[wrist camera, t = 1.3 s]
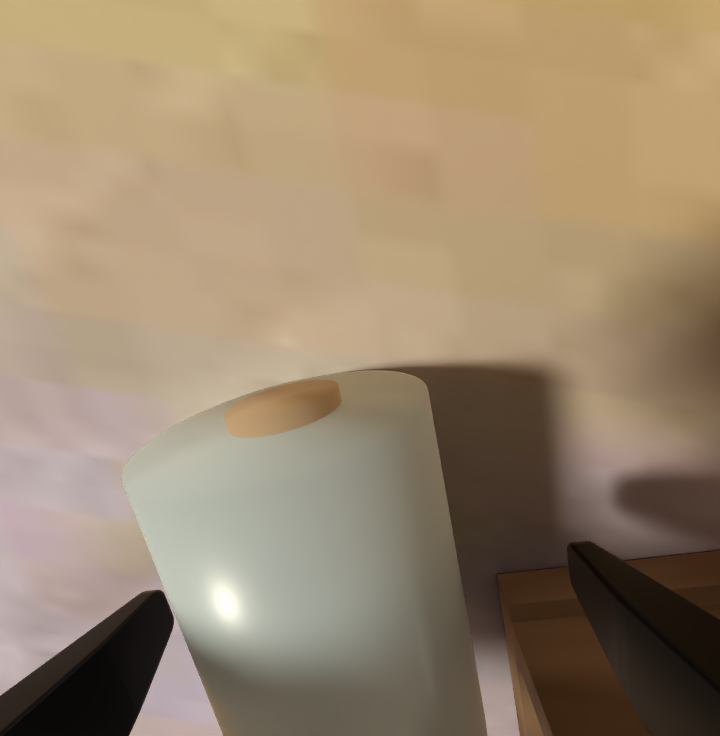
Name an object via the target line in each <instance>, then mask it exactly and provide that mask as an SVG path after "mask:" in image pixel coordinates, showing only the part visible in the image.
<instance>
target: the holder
mask: <svg viewBox="0 0 720 736" xmlns="http://www.w3.org/2000/svg"><path fill="white" fill-rule="evenodd" d="M625 562H626V563H628V564H630V565H631V566H633V567H635V568H636V569H638V570H640V571H641V572H643V573H645V574H646V575H648V576H650V577H651V578H653V579H655V580H656V581H658V582H660V583H661V584H663V585H665V586H666V587H668V588H670V589H671V590H673V591H674V592H676V593H678V594H679V595H681V596H683V597H684V598H686V599H688V600H689V601H691V602H693V603H694V604H696V605H698V606H699V607H701V608H703V609H704V610H706V611H708V612H709V613H711V614H713V615H714V616H716V617H718V618H719V619H720V551H712V552H702V553H693V554H684V555H674V556H665V557H655V558H646V559H637V560H627V561H625ZM497 580H498V587H499V594H500V600H501V607H502V614H503V621H504V628H505V635H506V642H507V648H508V655H509V662H510V669H511V676H512V683H513V690H514V697H515V703H516V710H517V717H518V724H519V731H520V736H650V734H649V733H648V731H647V729H646V727H645V726H644V724H643V722H642V721H641V719H640V717H639V716H638V714H637V712H636V711H635V709H634V707H633V706H632V704H631V702H630V701H629V699H628V697H627V695H626V694H625V692H624V690H623V688H622V686H621V685H620V683H619V681H618V679H617V677H616V675H615V673H614V671H613V669H612V667H611V665H610V663H609V661H608V659H607V657H606V655H605V653H604V651H603V649H602V647H601V645H600V643H599V641H598V639H597V637H596V635H595V632H594V630H593V628H592V626H591V624H590V622H589V620H588V618H587V616H586V614H585V612H584V610H583V608H582V606H581V604H580V602H579V600H578V598H577V596H576V594H575V592H574V589H573V587H572V584H571V581H570V576H569V567H562V568H552V569H543V570H534V571H524V572H515V573H506V574H497Z"/></svg>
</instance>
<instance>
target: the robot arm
mask: <svg viewBox="0 0 720 736" xmlns="http://www.w3.org/2000/svg"><path fill="white" fill-rule="evenodd" d="M567 554H568V566H569V576H570V581H571V584H572V587H573V589H574V592H575V594H576V596H577V598H578V600H579V602H580V604H581V606H582V608H583V610H584V612H585V614H586V616H587V618H588V620H589V622H590V624H591V626H592V628H593V630H594V632H595V635H596V637H597V639H598V641H599V643H600V645H601V647H602V649H603V651H604V653H605V655H606V657H607V659H608V661H609V663H610V665H611V667H612V669H613V671H614V673H615V675H616V677H617V679H618V681H619V683H620V685H621V686H622V688H623V690H624V692H625V694H626V695H627V697H628V699H629V701H630V702H631V704H632V706H633V707H634V709H635V711H636V712H637V714H638V716H639V717H640V719H641V721H642V722H643V724H644V726H645V727H646V729H647V731H648V733H649V734H650V736H720V619H719V618H718V617H716V616H714V615H713V614H711V613H709V612H708V611H706V610H704V609H703V608H701V607H699V606H698V605H696V604H694V603H693V602H691V601H689V600H688V599H686V598H684V597H683V596H681V595H679V594H678V593H676V592H674V591H673V590H671V589H670V588H668V587H666V586H665V585H663V584H661V583H660V582H658V581H656V580H655V579H653V578H651V577H650V576H648V575H646V574H645V573H643V572H641V571H640V570H638V569H636V568H635V567H633V566H631V565H630V564H628V563H626V562H625V561H623V560H621V559H620V558H618V557H616V556H615V555H613V554H611V553H610V552H608V551H606V550H605V549H603V548H601V547H600V546H598V545H596V544H595V543H593V542H590V541H580V542H571V543H569V544H568V546H567ZM173 625H174V617H173V614H172V611H171V609H170V606H169V604H168V601H167V599H166V597H165V594H164V593H163V592H162V591H161V590H152V591H145V592H142V593H140V594H139V595H138V596H136V597H135V598H133V599H132V600H131V601H129V602H128V603H127V604H125V605H124V606H123V607H121V608H120V609H118V610H117V611H116V612H114V613H113V614H112V615H110V616H109V617H107V618H106V619H105V620H103V621H102V622H101V623H99V624H98V625H97V626H95V627H94V628H92V629H91V630H90V631H88V632H87V633H86V634H84V635H83V636H81V637H80V638H79V639H77V640H76V641H75V642H73V643H72V644H71V645H69V646H68V647H66V648H65V649H64V650H62V651H61V652H60V653H58V654H57V655H55V656H54V657H53V658H51V659H50V660H49V661H47V662H46V663H45V664H43V665H42V666H40V667H39V668H38V669H36V670H35V671H34V672H32V673H31V674H29V675H28V676H27V677H25V678H24V679H23V680H21V681H20V682H19V683H17V684H16V685H14V686H13V687H12V688H10V689H9V690H8V691H6V692H5V693H3V694H2V695H1V696H0V736H129V735H130V732H131V730H132V728H133V726H134V724H135V722H136V719H137V717H138V715H139V713H140V710H141V708H142V705H143V703H144V701H145V698H146V695H147V693H148V690H149V688H150V685H151V683H152V680H153V678H154V675H155V673H156V670H157V668H158V665H159V663H160V660H161V658H162V655H163V652H164V650H165V647H166V645H167V642H168V640H169V637H170V635H171V632H172V629H173Z"/></svg>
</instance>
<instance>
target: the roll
mask: <svg viewBox="0 0 720 736" xmlns="http://www.w3.org/2000/svg"><path fill="white" fill-rule="evenodd" d="M121 480H122V483H123V486H124V489H125V491H126V493H127V496H128V498H129V501H130V503H131V506H132V508H133V511H134V513H135V516H136V518H137V521H138V523H139V526H140V528H141V531H142V533H143V536H144V538H145V541H146V543H147V546H148V548H149V551H150V553H151V556H152V558H153V561H154V563H155V566H156V568H157V571H158V573H159V576H160V578H161V581H162V583H163V586H164V588H165V591H166V593H167V596H168V598H169V601H170V603H171V606H172V608H173V611H174V613H175V616H176V618H177V621H178V623H179V626H180V628H181V631H182V633H183V636H184V638H185V641H186V643H187V646H188V648H189V651H190V653H191V656H192V658H193V661H194V663H195V666H196V668H197V671H198V673H199V676H200V678H201V681H202V683H203V686H204V688H205V691H206V693H207V696H208V698H209V701H210V703H211V706H212V708H213V711H214V713H215V716H216V718H217V721H218V723H219V726H220V728H221V731H222V733H223V736H487V729H486V721H485V714H484V709H483V703H482V697H481V691H480V685H479V680H478V674H477V668H476V662H475V657H474V651H473V645H472V639H471V634H470V628H469V622H468V616H467V610H466V605H465V599H464V593H463V587H462V582H461V576H460V570H459V564H458V559H457V553H456V547H455V541H454V536H453V530H452V524H451V518H450V512H449V507H448V501H447V495H446V489H445V484H444V478H443V472H442V466H441V461H440V455H439V449H438V443H437V437H436V432H435V426H434V420H433V414H432V409H431V403H430V397H429V391H428V388H427V386H426V384H425V383H424V382H423V381H422V380H421V379H419V378H417V377H416V376H413V375H410V374H407V373H402V372H396V371H386V370H363V371H350V372H341V373H334V374H329V375H323V376H318V377H313V378H308V379H302V380H297V381H292V382H288V383H284V384H280V385H277V386H273V387H269V388H266V389H263V390H259V391H256V392H253V393H250V394H247V395H244V396H241V397H238V398H236V399H233V400H230V401H227V402H225V403H222V404H220V405H217V406H215V407H212V408H210V409H208V410H205V411H203V412H201V413H199V414H197V415H194V416H192V417H190V418H188V419H186V420H184V421H182V422H180V423H178V424H177V425H175V426H173V427H171V428H170V429H168V430H166V431H164V432H163V433H161V434H160V435H158V436H157V437H155V438H154V439H152V440H151V441H149V442H148V443H147V444H145V445H144V446H143V447H142V448H141V449H139V450H138V451H137V452H136V453H135V454H134V455H133V456H132V457H131V458H130V460H129V461H128V462H127V463H126V465H125V467H124V469H123V471H122V476H121Z"/></svg>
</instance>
